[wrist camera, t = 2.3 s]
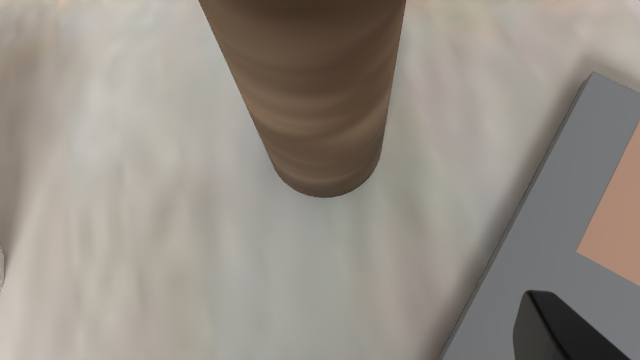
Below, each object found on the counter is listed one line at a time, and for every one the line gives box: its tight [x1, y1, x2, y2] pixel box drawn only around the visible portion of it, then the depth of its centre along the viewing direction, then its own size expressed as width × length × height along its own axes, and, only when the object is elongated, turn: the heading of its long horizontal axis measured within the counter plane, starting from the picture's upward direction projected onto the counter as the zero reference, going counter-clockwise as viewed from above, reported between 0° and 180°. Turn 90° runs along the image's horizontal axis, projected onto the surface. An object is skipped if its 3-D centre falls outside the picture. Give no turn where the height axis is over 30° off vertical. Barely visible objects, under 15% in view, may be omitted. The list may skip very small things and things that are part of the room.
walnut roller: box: [199, 0, 406, 198], centre depth 17 cm, size 5×5×14 cm
